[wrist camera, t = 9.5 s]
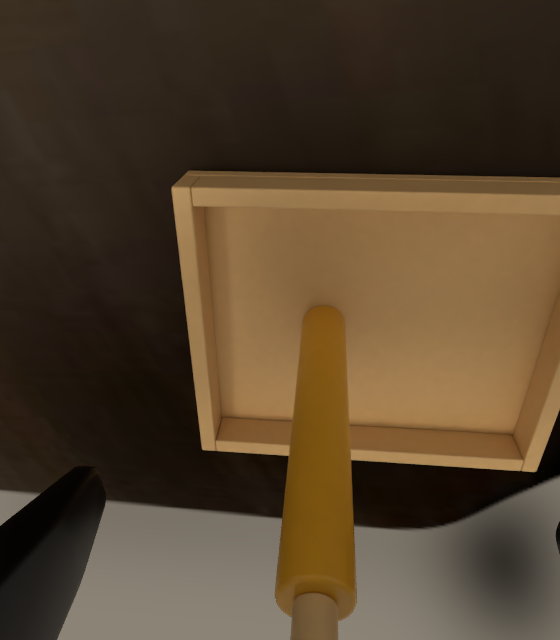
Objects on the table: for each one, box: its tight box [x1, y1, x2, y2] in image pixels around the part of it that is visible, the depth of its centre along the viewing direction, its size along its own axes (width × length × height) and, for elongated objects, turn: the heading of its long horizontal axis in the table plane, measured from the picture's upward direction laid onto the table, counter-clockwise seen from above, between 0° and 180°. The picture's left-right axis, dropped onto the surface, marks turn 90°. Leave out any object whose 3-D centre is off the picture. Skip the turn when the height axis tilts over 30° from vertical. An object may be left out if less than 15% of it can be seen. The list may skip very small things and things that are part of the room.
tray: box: [171, 171, 560, 472], centre depth 15 cm, size 11×9×2 cm
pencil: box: [275, 306, 357, 640], centre depth 11 cm, size 1×1×10 cm
